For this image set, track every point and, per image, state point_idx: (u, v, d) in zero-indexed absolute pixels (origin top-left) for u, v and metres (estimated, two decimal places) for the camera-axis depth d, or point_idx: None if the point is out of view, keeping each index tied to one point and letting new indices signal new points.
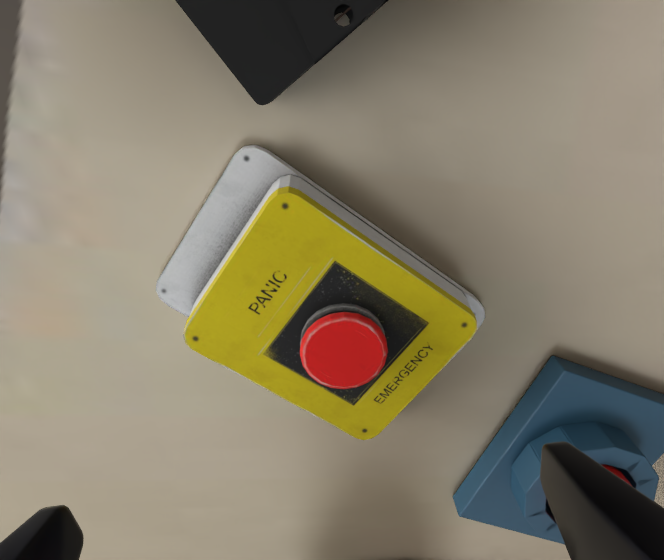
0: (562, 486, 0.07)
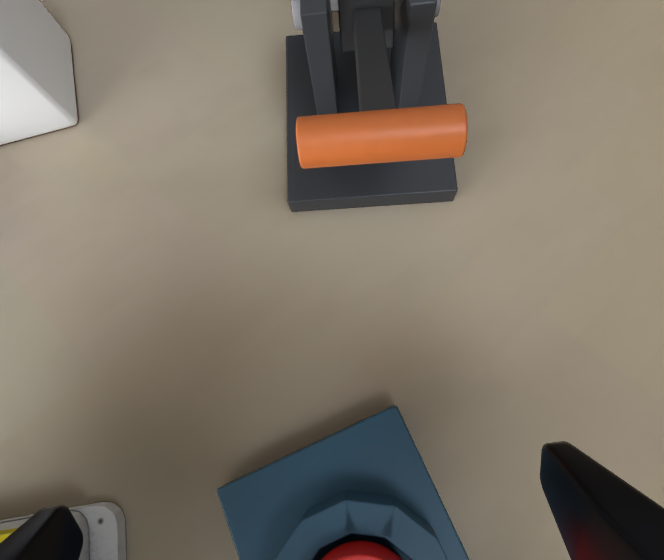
0: (562, 486, 0.07)
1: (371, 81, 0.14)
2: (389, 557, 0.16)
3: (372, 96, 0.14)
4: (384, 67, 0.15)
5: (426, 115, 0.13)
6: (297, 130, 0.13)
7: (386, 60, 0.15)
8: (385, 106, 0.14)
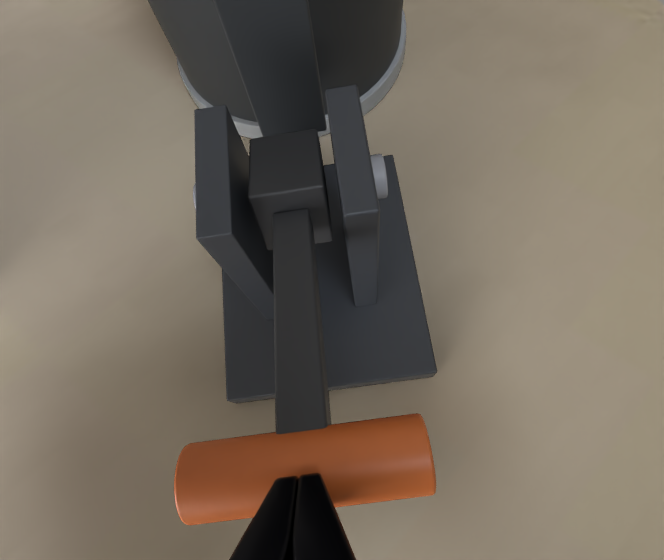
0: None
1: (292, 361, 0.10)
2: None
3: (293, 397, 0.09)
4: (312, 330, 0.10)
5: (371, 457, 0.08)
6: (175, 491, 0.08)
7: (314, 316, 0.11)
8: (312, 420, 0.09)
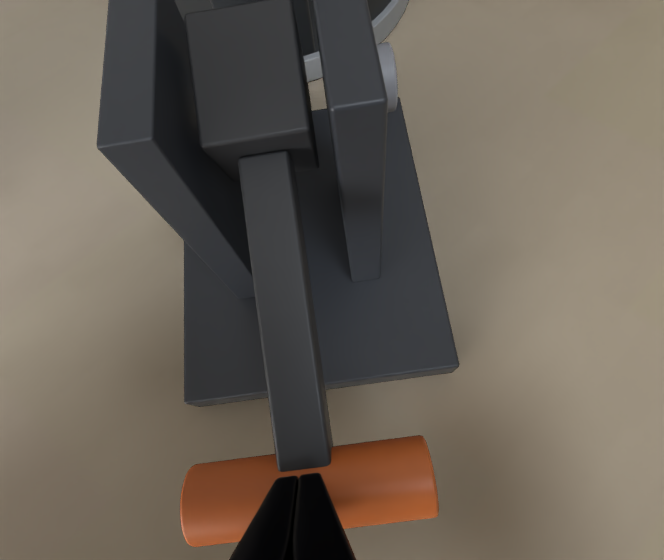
0: None
1: (287, 389, 0.09)
2: None
3: (292, 431, 0.09)
4: (307, 349, 0.09)
5: (378, 505, 0.08)
6: (185, 535, 0.09)
7: (308, 329, 0.09)
8: (314, 457, 0.09)
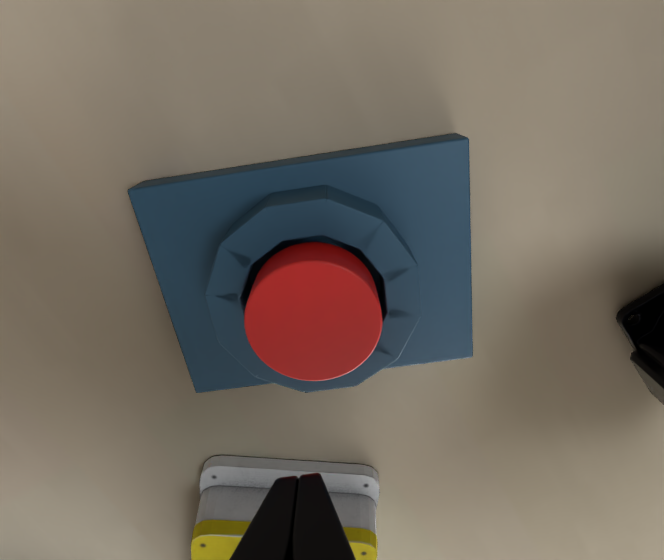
0: None
1: None
2: (262, 274, 0.14)
3: None
4: None
5: None
6: None
7: None
8: None
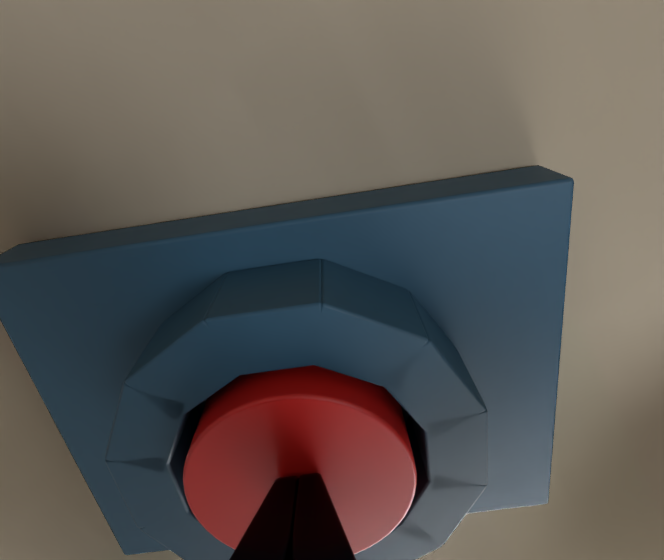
0: None
1: None
2: (213, 405, 0.08)
3: None
4: None
5: None
6: None
7: None
8: None
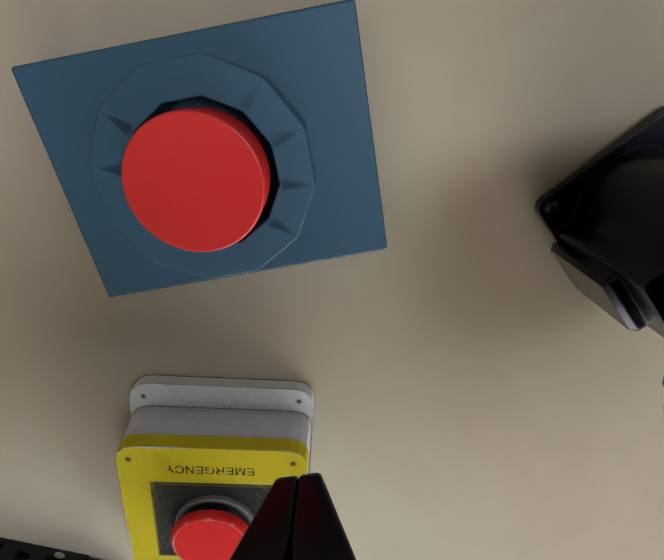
0: None
1: None
2: None
3: None
4: None
5: None
6: None
7: None
8: None
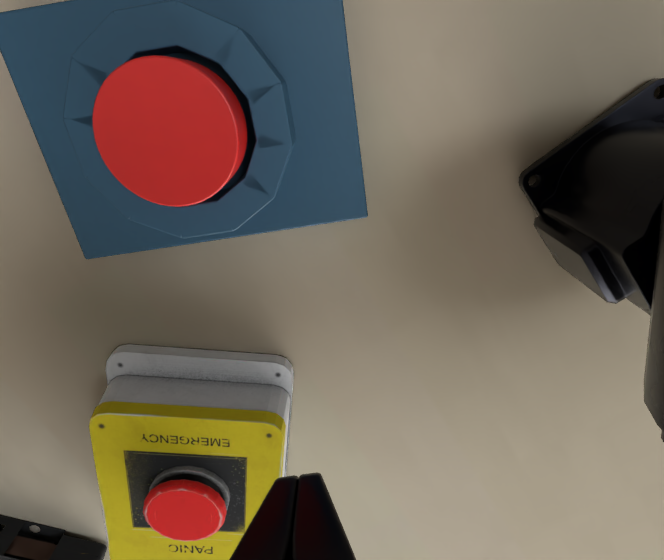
0: None
1: None
2: None
3: None
4: None
5: None
6: None
7: None
8: None
